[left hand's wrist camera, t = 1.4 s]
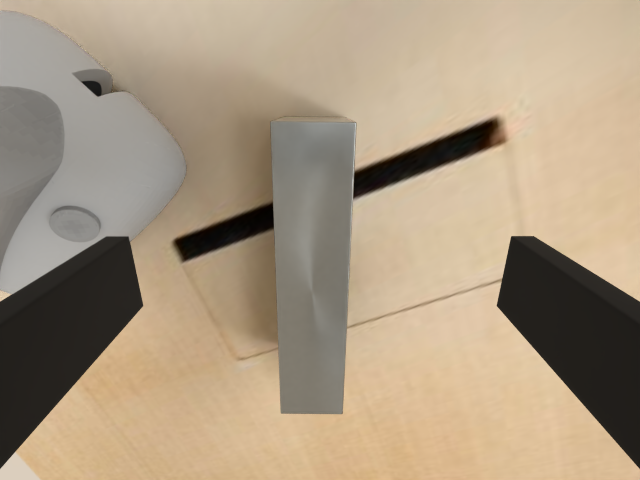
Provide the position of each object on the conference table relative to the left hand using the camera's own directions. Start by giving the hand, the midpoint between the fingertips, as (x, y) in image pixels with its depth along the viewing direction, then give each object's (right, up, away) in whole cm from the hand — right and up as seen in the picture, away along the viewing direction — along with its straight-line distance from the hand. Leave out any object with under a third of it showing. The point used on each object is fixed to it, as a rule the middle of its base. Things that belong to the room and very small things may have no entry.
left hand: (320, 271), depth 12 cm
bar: (-1, +1, +22) cm, 22 cm away
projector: (-23, +6, +20) cm, 31 cm away
